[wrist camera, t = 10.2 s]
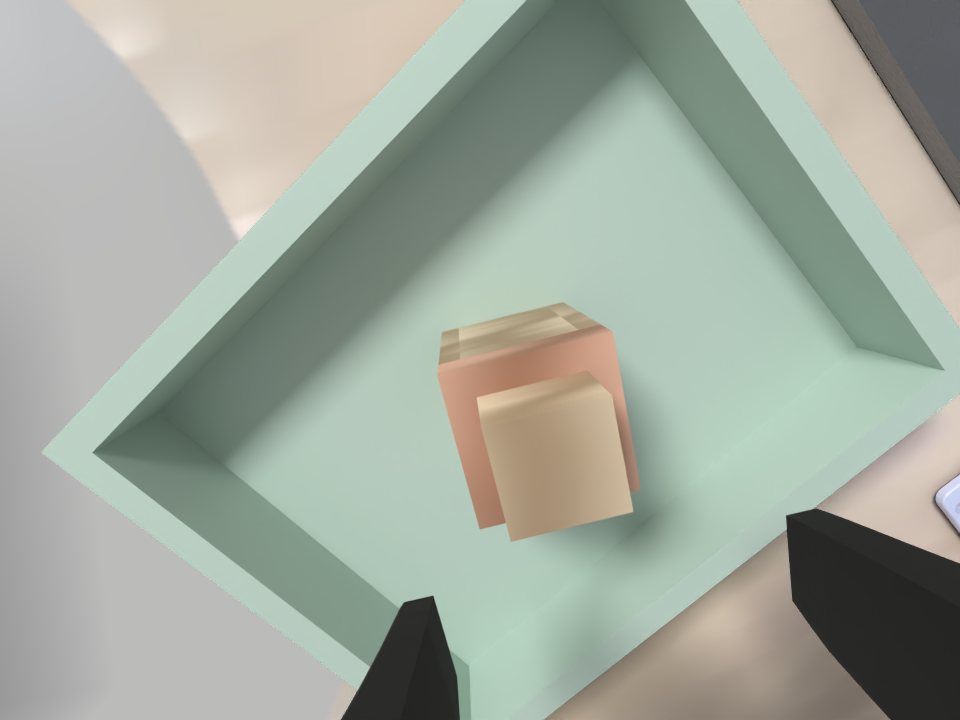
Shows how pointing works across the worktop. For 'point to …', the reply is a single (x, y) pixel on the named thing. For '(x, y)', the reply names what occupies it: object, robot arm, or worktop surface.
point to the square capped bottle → (539, 420)
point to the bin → (514, 289)
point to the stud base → (917, 67)
